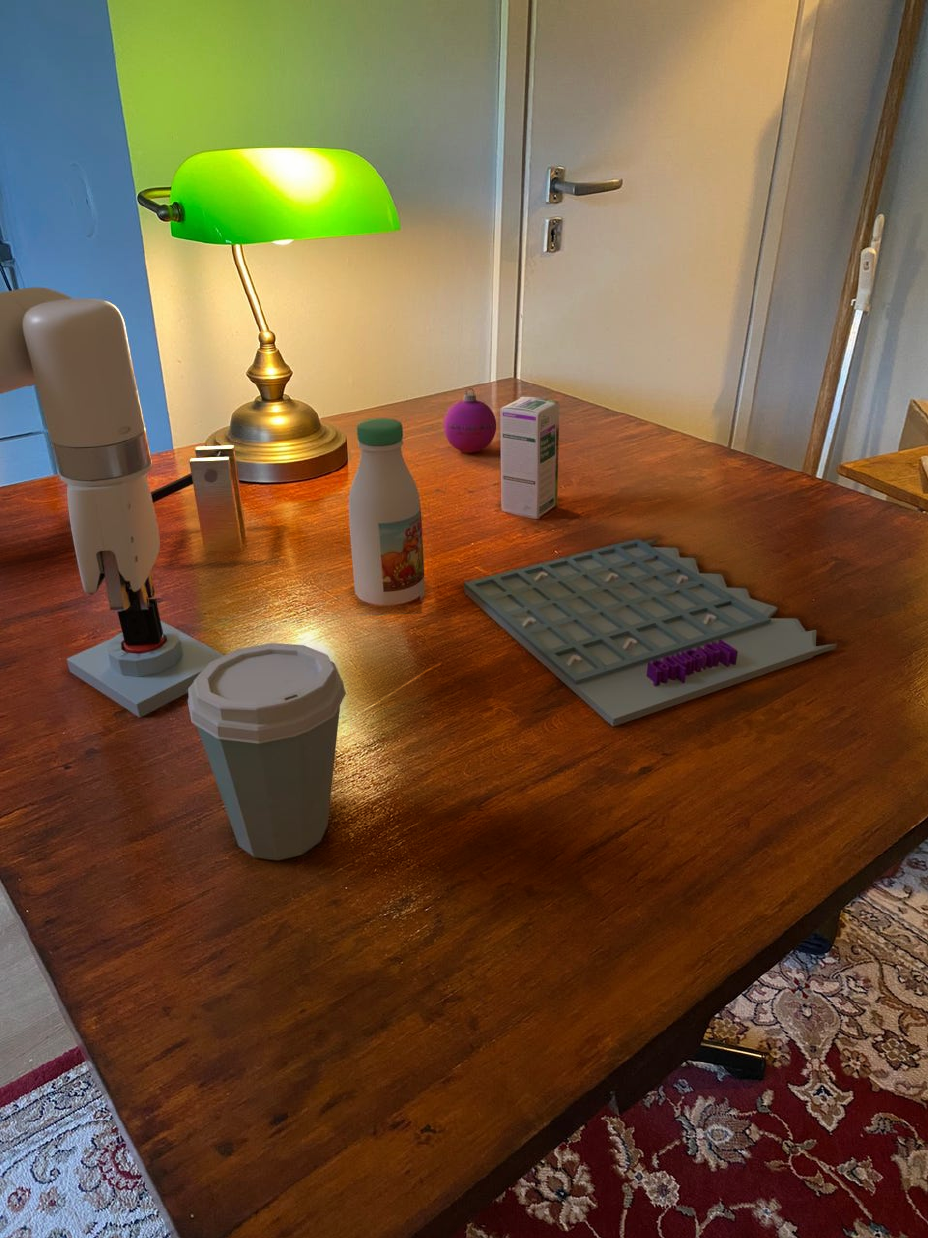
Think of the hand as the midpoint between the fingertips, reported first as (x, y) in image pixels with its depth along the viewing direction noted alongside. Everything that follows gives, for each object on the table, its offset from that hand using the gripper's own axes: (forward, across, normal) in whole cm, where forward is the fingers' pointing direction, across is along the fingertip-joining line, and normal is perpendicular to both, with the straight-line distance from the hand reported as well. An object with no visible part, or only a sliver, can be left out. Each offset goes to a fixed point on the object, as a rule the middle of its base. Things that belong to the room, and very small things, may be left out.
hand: (144, 640), depth 86 cm
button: (+2, 0, 0) cm, 2 cm away
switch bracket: (+4, -28, +3) cm, 28 cm away
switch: (-4, -28, 0) cm, 28 cm away
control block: (+4, 0, 0) cm, 4 cm away
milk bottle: (+4, -14, +23) cm, 27 cm away
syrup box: (+4, -37, +42) cm, 56 cm away
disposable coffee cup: (+4, +23, +15) cm, 28 cm away
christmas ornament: (+4, -61, +37) cm, 71 cm away
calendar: (+4, -6, +49) cm, 50 cm away
